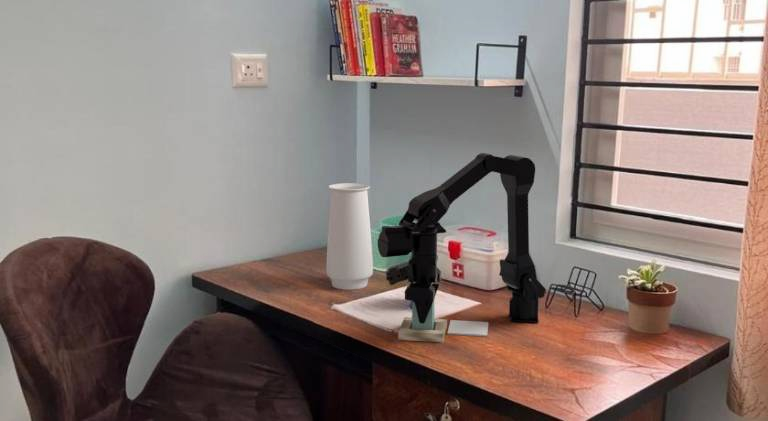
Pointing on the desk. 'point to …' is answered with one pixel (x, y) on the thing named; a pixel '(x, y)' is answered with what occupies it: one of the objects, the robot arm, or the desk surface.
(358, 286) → the vase
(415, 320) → the teal block
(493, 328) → the desk surface
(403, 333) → the birch holder
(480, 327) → the grey coaster
